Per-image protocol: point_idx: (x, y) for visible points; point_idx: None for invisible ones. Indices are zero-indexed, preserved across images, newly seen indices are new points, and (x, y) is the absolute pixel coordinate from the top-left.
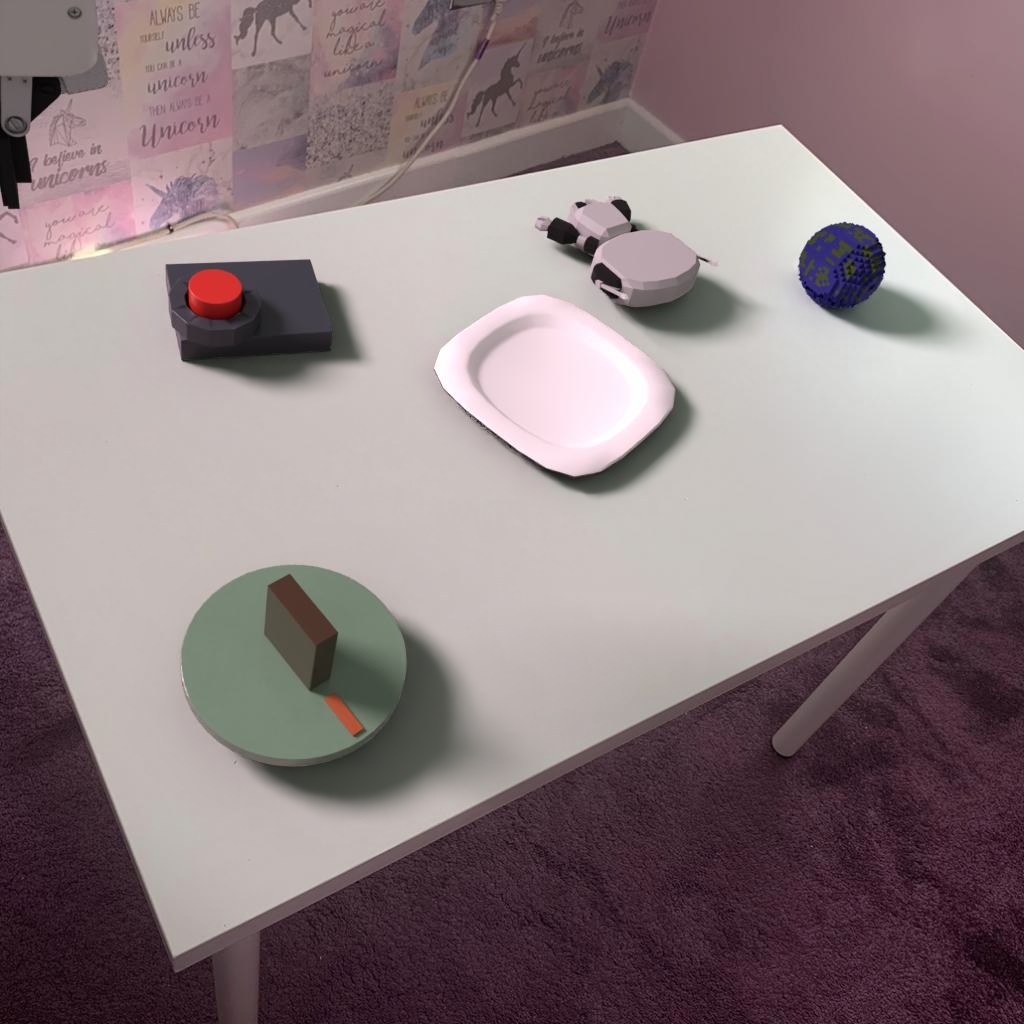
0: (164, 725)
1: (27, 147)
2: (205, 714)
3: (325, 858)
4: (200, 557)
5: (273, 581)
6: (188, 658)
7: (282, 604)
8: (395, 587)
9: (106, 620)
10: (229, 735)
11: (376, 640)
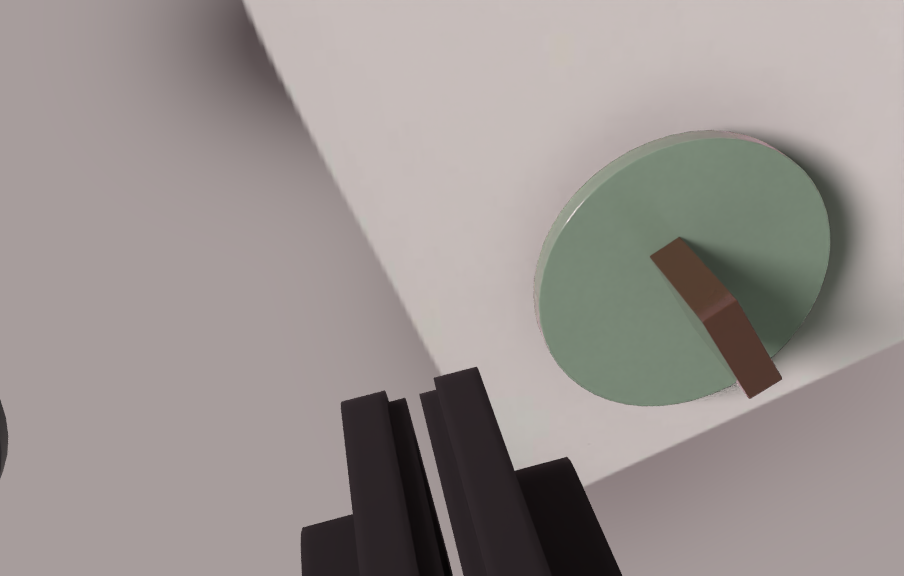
0: (501, 319)
1: (593, 513)
2: (567, 365)
3: (663, 437)
4: (549, 62)
5: (673, 171)
6: (549, 298)
7: (717, 347)
8: (828, 99)
9: (418, 183)
10: (593, 386)
11: (794, 253)
